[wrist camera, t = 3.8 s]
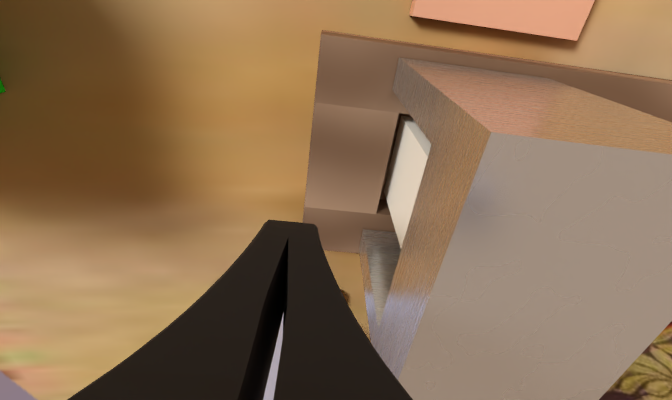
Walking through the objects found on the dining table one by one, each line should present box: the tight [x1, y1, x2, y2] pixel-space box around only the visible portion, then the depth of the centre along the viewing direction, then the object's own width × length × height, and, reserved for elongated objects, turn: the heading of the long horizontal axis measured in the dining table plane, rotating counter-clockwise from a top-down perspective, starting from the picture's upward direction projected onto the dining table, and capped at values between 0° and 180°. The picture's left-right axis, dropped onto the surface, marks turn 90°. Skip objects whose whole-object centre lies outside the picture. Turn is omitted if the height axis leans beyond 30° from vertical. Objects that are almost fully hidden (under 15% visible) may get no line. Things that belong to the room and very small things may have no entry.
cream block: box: [384, 116, 431, 249], centre depth 14 cm, size 4×4×7 cm
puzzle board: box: [303, 30, 672, 253], centre depth 17 cm, size 10×20×2 cm, turn 83°
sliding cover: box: [359, 58, 672, 400], centre depth 12 cm, size 9×6×8 cm, turn 173°
